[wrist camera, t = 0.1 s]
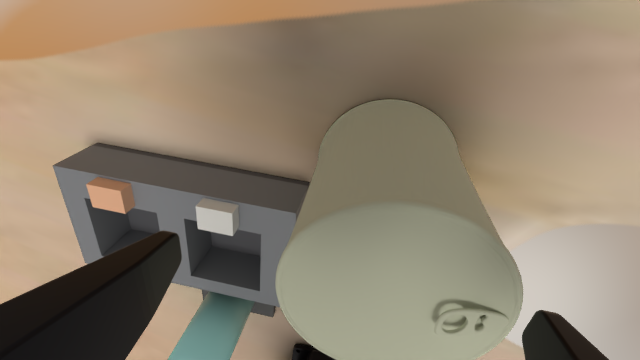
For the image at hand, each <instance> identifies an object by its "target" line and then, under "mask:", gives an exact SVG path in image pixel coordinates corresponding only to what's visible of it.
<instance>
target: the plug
mask: <svg viewBox="0 0 640 360" xmlns="http://www.w3.org/2000/svg"><path fill="white" fill-rule="evenodd" d="M254 303H255V301H251V300H246V299H242V298H237V297H233V296H229V295H224V294H220V293H215V292H211V291H209V292H208V294H207V295H206V297H205V299H204V300H203V302H202V304H201V305H200V307H199V309H198V310H197V312H196V314H195V315H194V317H193V318H192V320H191V322H190V323H189V325H188V327H187V328H186V330H185V332H184V333H183V335H182V337H181V338H180V340H179V342H178V343H177V345H176V347H175V348H174V350H173V352H172V353H171V355H170V356H169V358H168V360H230V358H231V355H232V353H233V351H234V348H235V346H236V344H237V342H238V339H239V337H240V335H241V332H242V330H243V328H244V326H245V323H246V321H247V319H248V316H249V314H250V312H251V309H252V307H253V305H254Z"/></svg>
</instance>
